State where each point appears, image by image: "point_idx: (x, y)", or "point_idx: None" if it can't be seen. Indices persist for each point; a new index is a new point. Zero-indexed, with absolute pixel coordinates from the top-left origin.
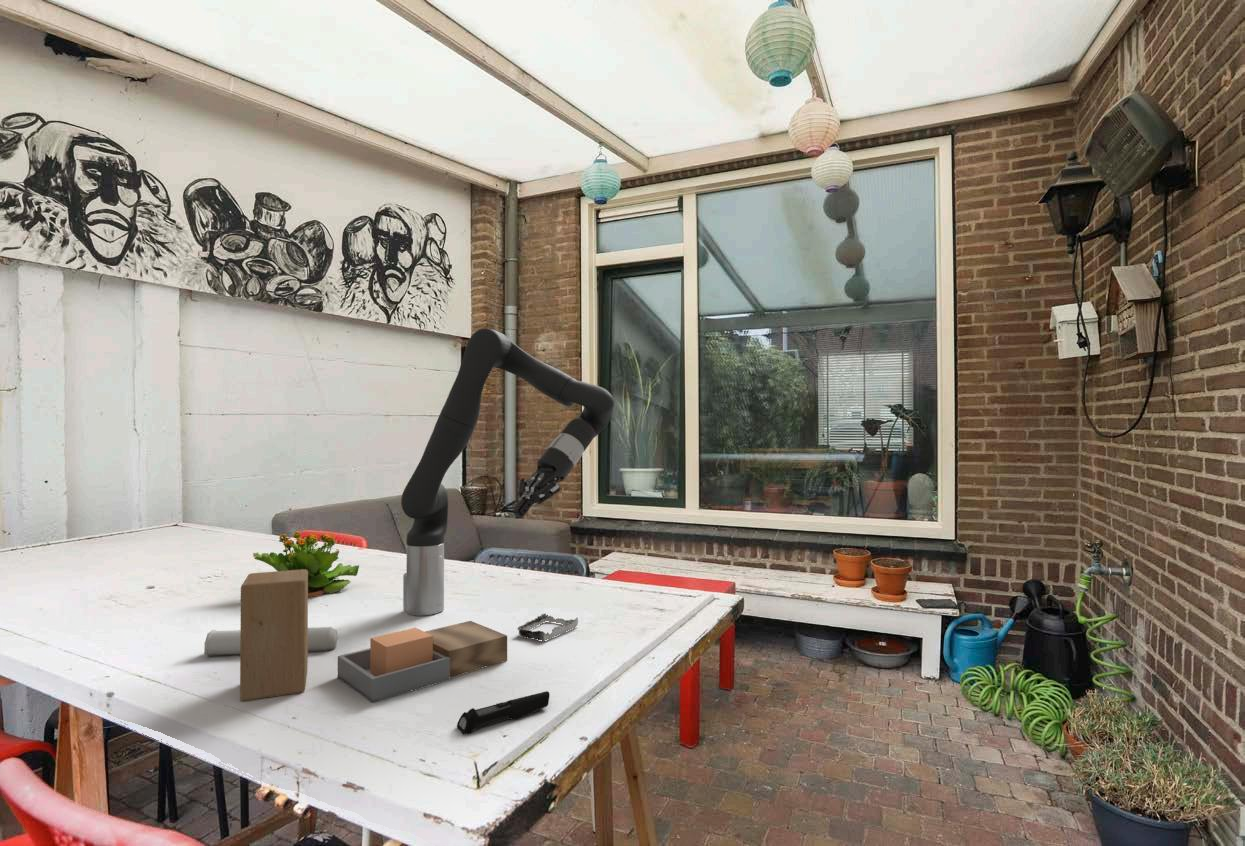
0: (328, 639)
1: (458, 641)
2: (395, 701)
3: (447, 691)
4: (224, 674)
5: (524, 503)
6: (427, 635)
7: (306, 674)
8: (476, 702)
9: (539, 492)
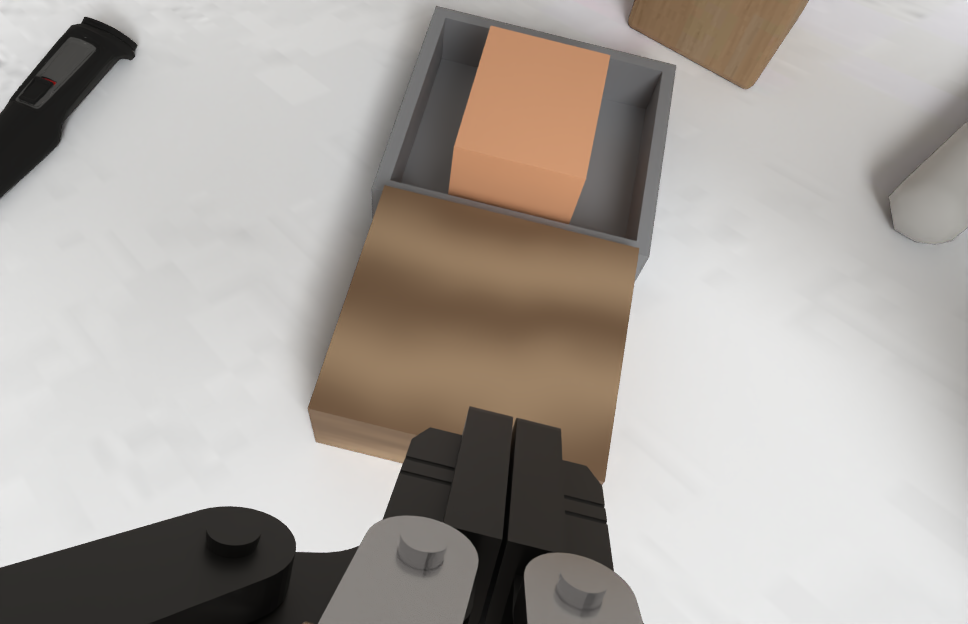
0: (902, 185)
1: (431, 264)
2: (389, 78)
3: (313, 170)
4: (889, 16)
5: (442, 509)
6: (472, 140)
7: (699, 50)
8: (184, 156)
9: (69, 560)
